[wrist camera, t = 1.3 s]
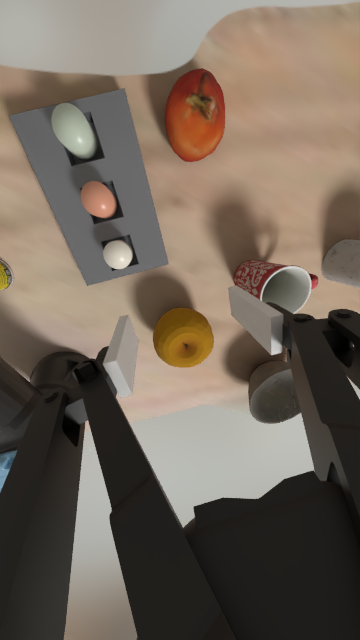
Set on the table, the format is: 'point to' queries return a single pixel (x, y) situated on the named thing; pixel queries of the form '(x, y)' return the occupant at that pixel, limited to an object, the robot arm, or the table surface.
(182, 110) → the tomato
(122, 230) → the panel
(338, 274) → the grey stone cylinder
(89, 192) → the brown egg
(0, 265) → the pill bottle
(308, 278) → the mug
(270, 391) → the bowl
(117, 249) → the button cream
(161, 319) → the apple
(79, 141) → the button sage
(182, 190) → the table surface
